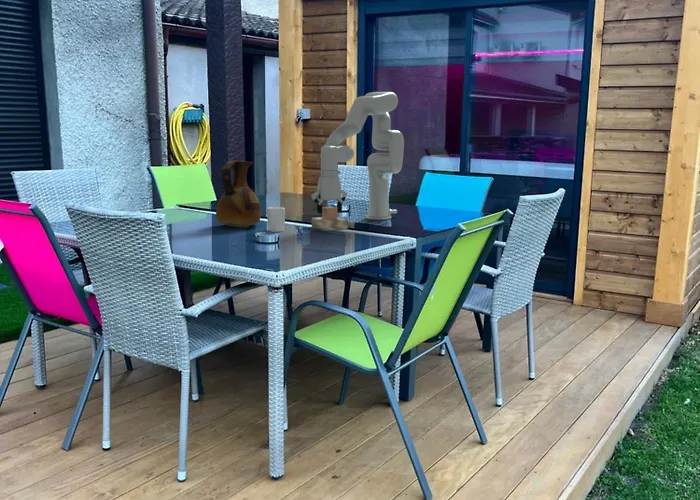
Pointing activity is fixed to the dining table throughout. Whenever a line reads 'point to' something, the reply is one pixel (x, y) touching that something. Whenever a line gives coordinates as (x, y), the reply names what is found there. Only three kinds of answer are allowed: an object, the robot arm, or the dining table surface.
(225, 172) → the ceramic pitcher
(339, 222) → the plinth
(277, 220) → the white cup
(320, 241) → the dining table surface
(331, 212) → the cube
